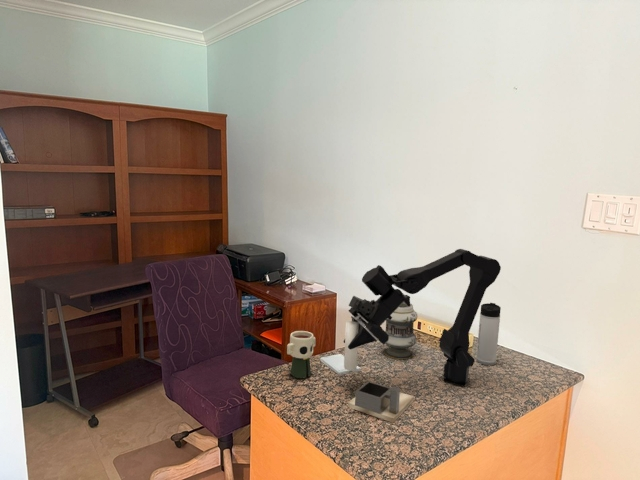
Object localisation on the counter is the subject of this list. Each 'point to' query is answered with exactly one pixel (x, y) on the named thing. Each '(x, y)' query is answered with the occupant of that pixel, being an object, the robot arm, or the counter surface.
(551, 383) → the counter surface
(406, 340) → the apothecary jar
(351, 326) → the white tall cylinder
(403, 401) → the mounting board
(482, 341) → the travel mug
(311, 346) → the character mug
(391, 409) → the cup bracket
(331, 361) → the hard drive
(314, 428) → the counter surface
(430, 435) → the counter surface
